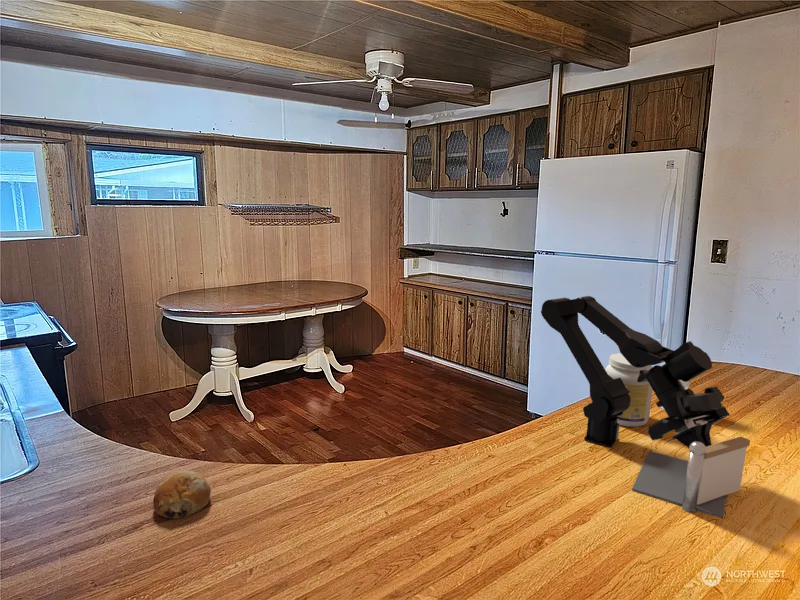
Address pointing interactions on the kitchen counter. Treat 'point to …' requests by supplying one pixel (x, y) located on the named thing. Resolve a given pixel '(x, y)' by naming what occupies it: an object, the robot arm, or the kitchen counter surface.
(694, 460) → the gate post
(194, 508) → the bread roll
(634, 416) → the supplement tub
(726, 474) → the panel
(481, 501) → the kitchen counter surface
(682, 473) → the mat
